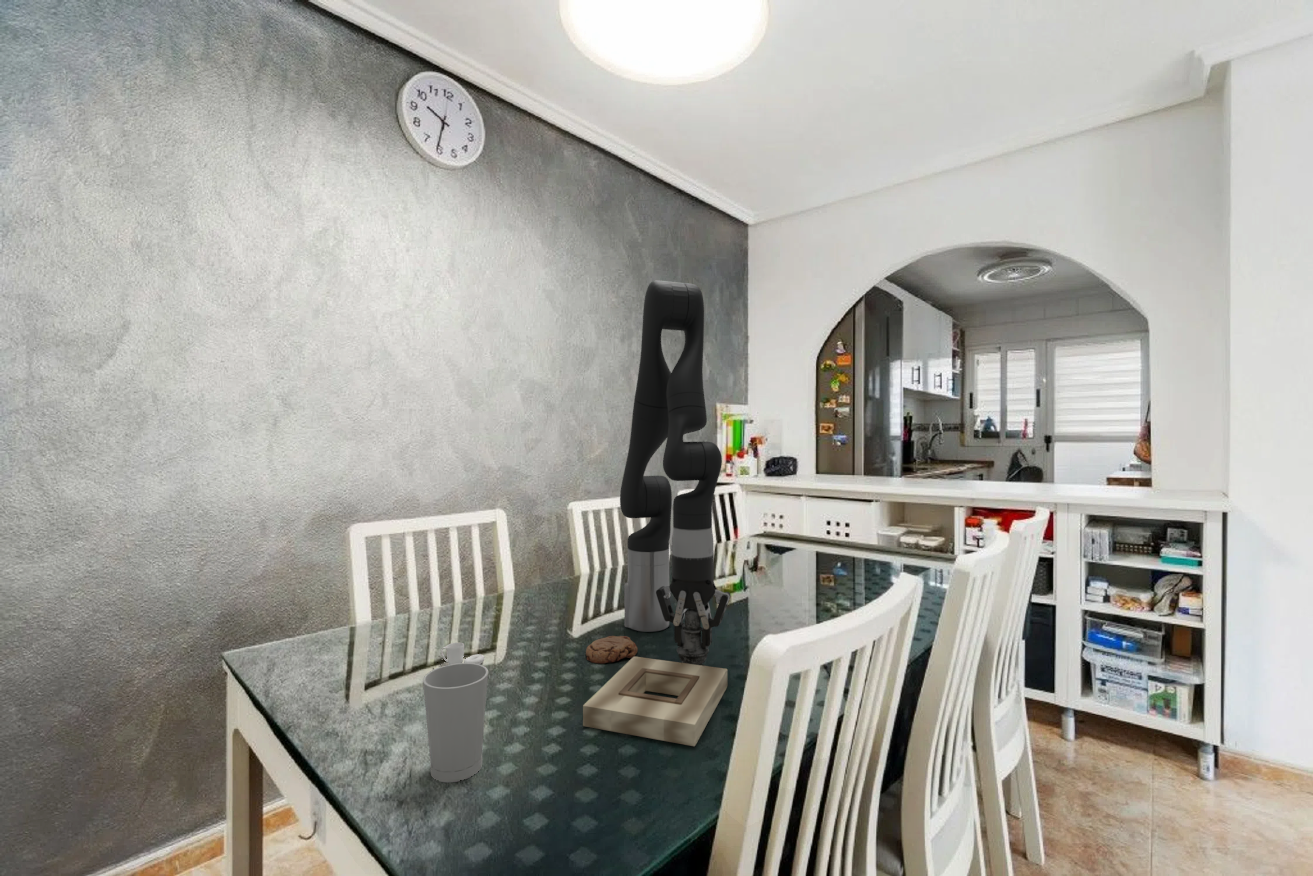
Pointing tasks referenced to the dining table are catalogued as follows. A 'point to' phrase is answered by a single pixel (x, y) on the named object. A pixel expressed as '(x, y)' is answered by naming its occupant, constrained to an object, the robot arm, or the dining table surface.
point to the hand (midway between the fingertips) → (693, 646)
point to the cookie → (611, 649)
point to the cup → (455, 719)
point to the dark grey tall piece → (692, 640)
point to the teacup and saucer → (460, 654)
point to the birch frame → (657, 700)
